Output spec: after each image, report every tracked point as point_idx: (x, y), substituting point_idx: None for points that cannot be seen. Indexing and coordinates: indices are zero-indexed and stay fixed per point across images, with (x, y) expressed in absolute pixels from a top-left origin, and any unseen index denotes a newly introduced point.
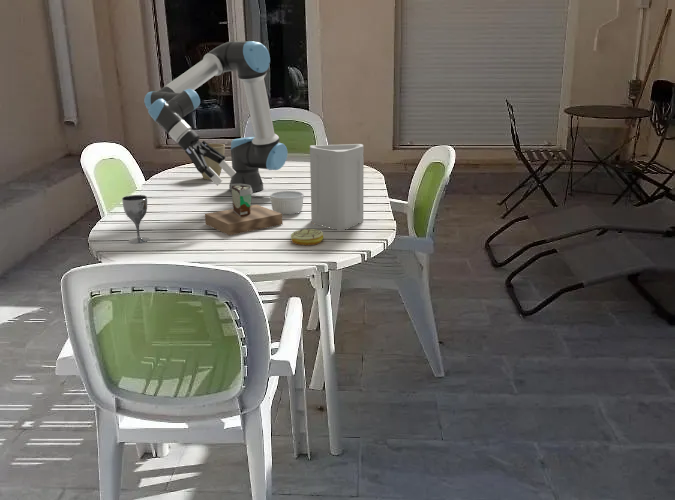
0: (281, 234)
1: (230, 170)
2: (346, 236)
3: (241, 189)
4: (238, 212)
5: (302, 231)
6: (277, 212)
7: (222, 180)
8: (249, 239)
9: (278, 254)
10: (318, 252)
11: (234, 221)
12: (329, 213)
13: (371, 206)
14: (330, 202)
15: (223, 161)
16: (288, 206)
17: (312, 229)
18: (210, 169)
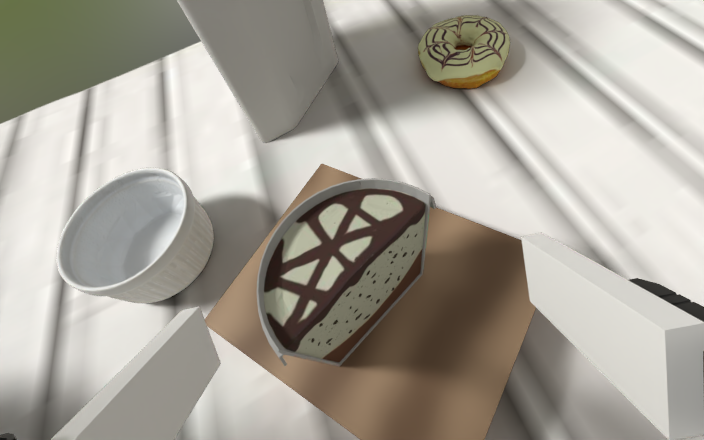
0: (434, 138)
1: (182, 353)
2: (380, 28)
3: (355, 235)
4: (399, 293)
5: (461, 50)
6: (307, 185)
7: (525, 238)
8: (539, 185)
9: (608, 57)
10: (527, 11)
11: (502, 256)
12: (309, 47)
13: (115, 96)
14: (300, 11)
15: (95, 435)
16: (201, 208)
17: (438, 37)
18: (664, 306)
